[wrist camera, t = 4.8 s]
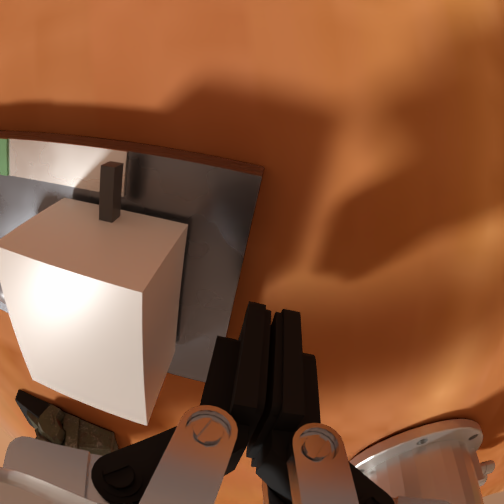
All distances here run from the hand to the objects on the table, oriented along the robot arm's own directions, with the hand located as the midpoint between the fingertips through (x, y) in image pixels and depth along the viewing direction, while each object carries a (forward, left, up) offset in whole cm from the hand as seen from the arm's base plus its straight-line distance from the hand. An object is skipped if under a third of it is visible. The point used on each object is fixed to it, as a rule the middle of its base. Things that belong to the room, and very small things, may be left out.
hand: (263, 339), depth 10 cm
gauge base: (+13, 0, -3) cm, 13 cm away
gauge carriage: (+7, -1, -1) cm, 7 cm away
